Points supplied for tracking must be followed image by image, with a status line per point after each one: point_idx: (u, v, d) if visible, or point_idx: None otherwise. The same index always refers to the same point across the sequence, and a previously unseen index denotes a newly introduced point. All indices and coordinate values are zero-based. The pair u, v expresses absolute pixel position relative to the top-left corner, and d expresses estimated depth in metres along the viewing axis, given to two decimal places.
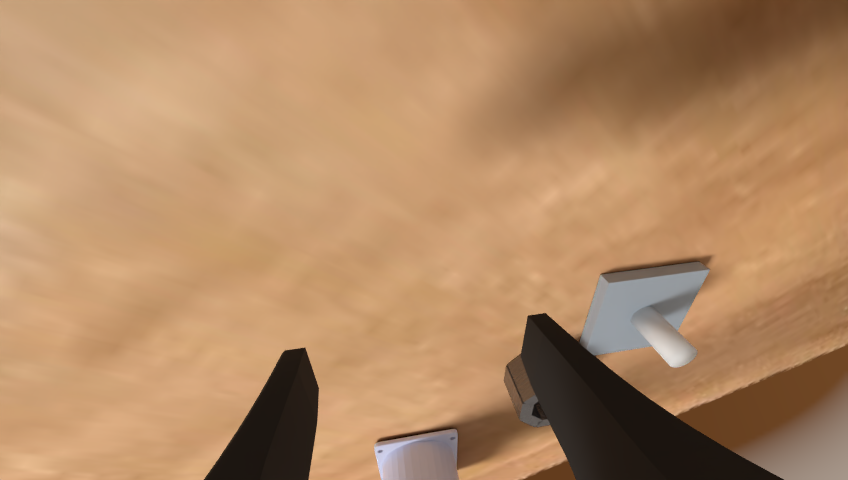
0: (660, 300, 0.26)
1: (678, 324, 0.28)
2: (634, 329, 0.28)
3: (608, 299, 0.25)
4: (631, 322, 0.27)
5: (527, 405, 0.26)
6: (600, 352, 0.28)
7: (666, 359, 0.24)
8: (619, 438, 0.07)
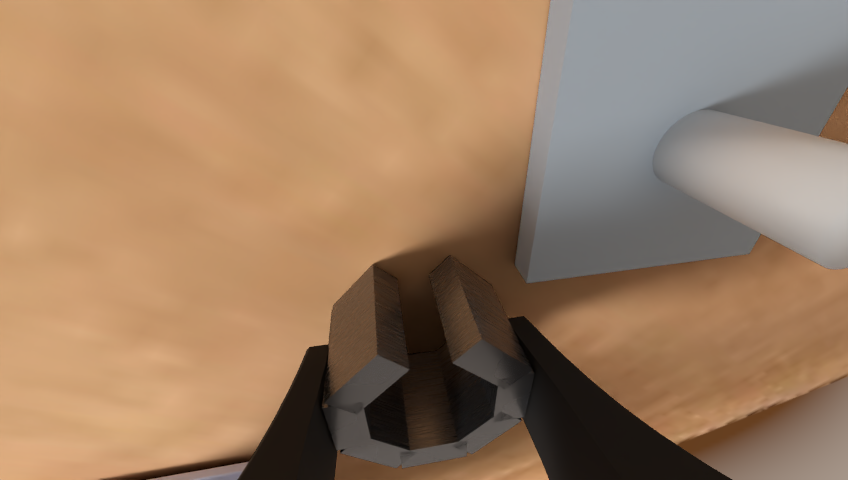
0: (747, 86, 0.08)
1: None
2: (661, 199, 0.10)
3: (582, 54, 0.07)
4: (655, 168, 0.09)
5: (342, 412, 0.09)
6: (569, 271, 0.11)
7: (805, 233, 0.06)
8: (586, 444, 0.07)
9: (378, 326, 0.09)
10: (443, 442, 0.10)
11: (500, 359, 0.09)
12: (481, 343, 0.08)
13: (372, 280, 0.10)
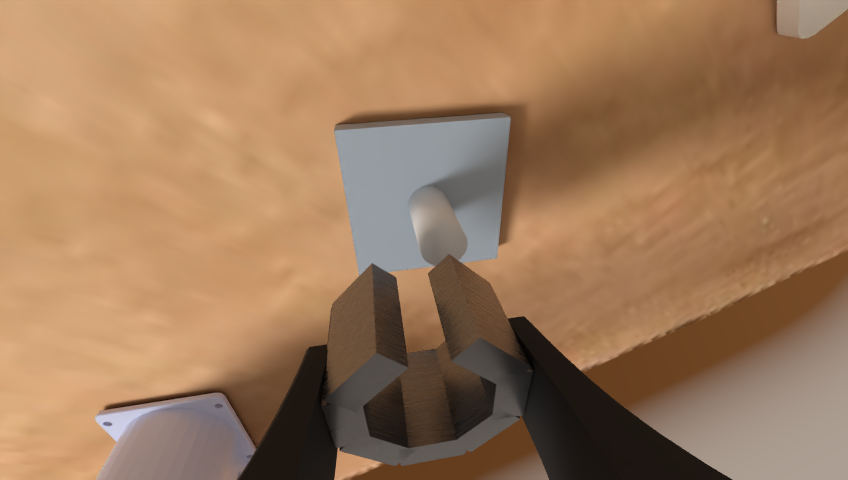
0: (446, 174, 0.17)
1: (496, 224, 0.19)
2: None
3: (349, 165, 0.16)
4: (410, 214, 0.17)
5: (341, 409, 0.09)
6: (384, 268, 0.19)
7: None
8: (587, 445, 0.07)
9: (377, 324, 0.09)
10: (442, 439, 0.11)
11: (499, 357, 0.09)
12: (480, 341, 0.08)
13: (371, 278, 0.10)
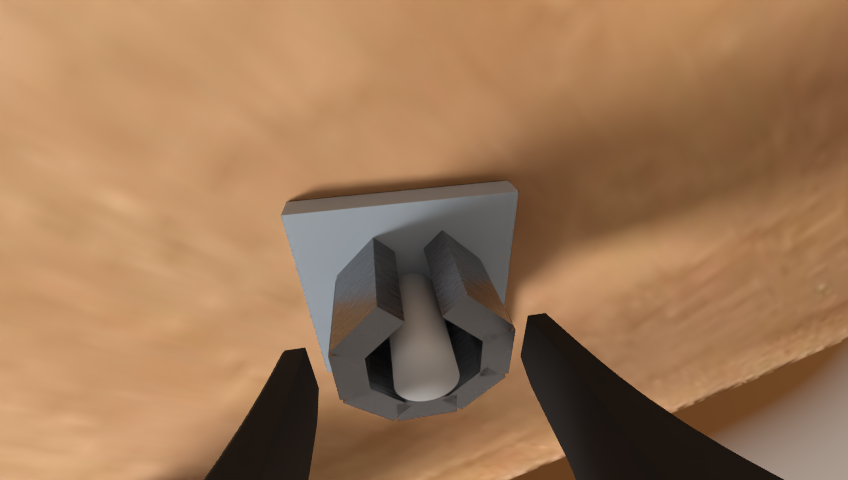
0: None
1: None
2: None
3: (305, 254, 0.12)
4: None
5: (345, 361, 0.10)
6: None
7: None
8: (619, 438, 0.07)
9: (377, 285, 0.10)
10: None
11: (484, 314, 0.10)
12: (467, 298, 0.09)
13: (372, 250, 0.11)
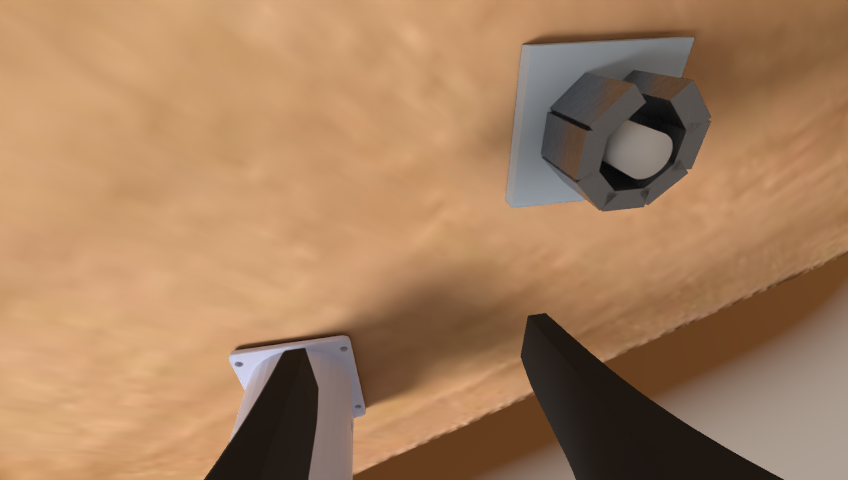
0: None
1: None
2: None
3: (534, 85, 0.16)
4: None
5: (595, 137, 0.14)
6: (536, 201, 0.19)
7: (622, 162, 0.14)
8: (619, 438, 0.07)
9: (620, 82, 0.14)
10: (634, 188, 0.16)
11: (696, 102, 0.14)
12: (691, 83, 0.13)
13: (593, 75, 0.15)
